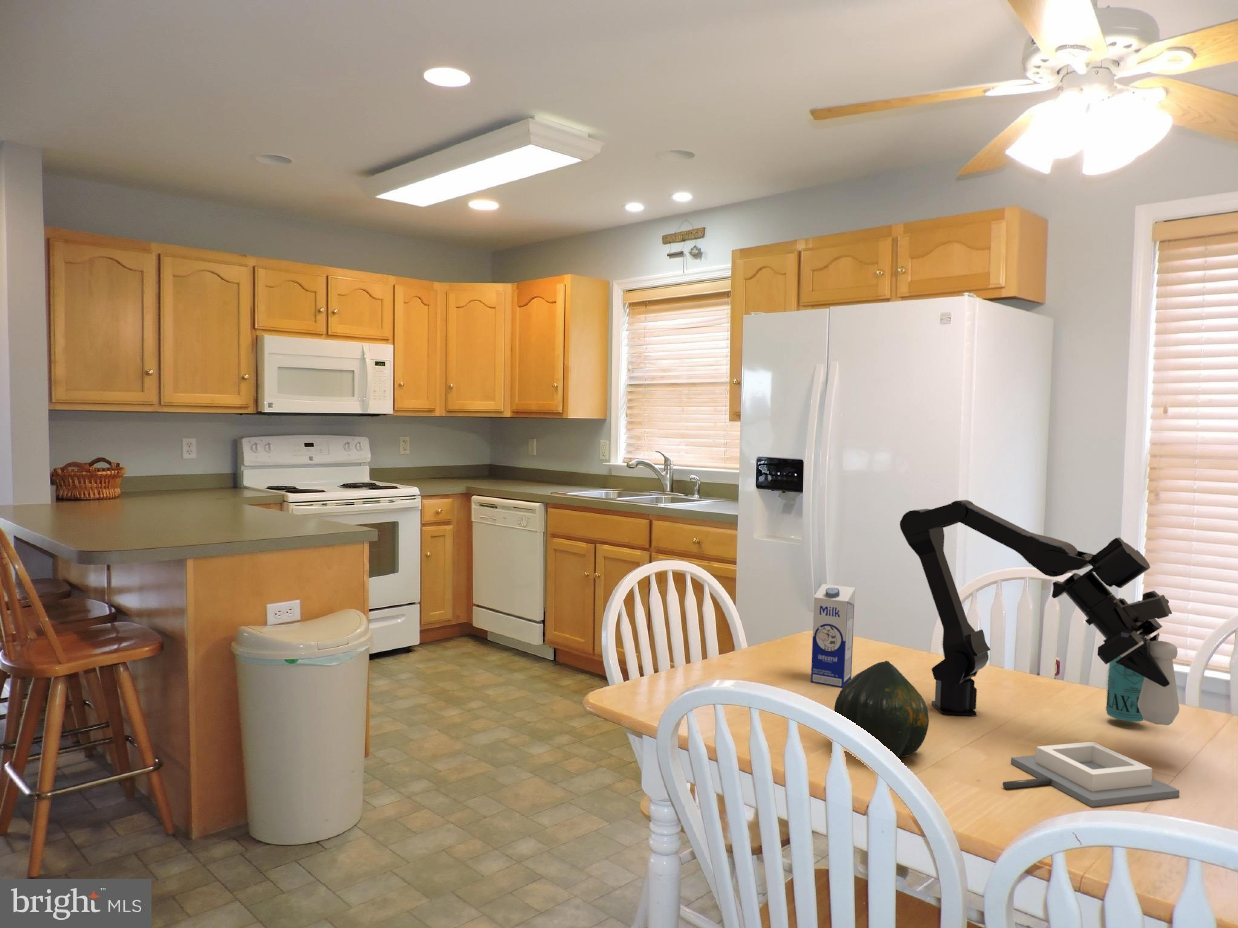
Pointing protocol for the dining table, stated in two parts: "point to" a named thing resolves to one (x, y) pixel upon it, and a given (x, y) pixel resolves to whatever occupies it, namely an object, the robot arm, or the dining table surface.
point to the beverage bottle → (1123, 693)
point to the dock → (1091, 774)
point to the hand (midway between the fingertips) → (1169, 683)
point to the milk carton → (832, 635)
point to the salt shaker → (1160, 687)
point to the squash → (886, 708)
